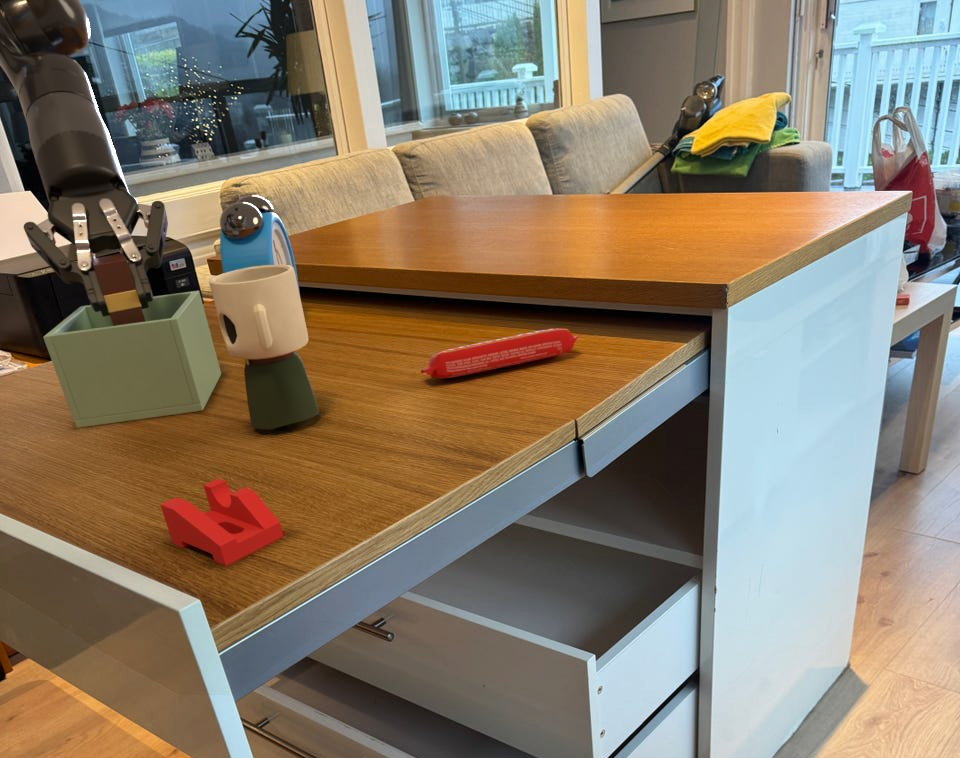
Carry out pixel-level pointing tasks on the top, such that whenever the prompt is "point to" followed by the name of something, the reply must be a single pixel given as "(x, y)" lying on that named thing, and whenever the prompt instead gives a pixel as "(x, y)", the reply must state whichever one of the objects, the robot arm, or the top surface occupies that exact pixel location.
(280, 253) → the alarm clock
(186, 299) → the trash bin
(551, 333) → the packaged sausage
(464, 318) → the top surface
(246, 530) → the bracket
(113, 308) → the chocolate carton
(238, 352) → the character mug
